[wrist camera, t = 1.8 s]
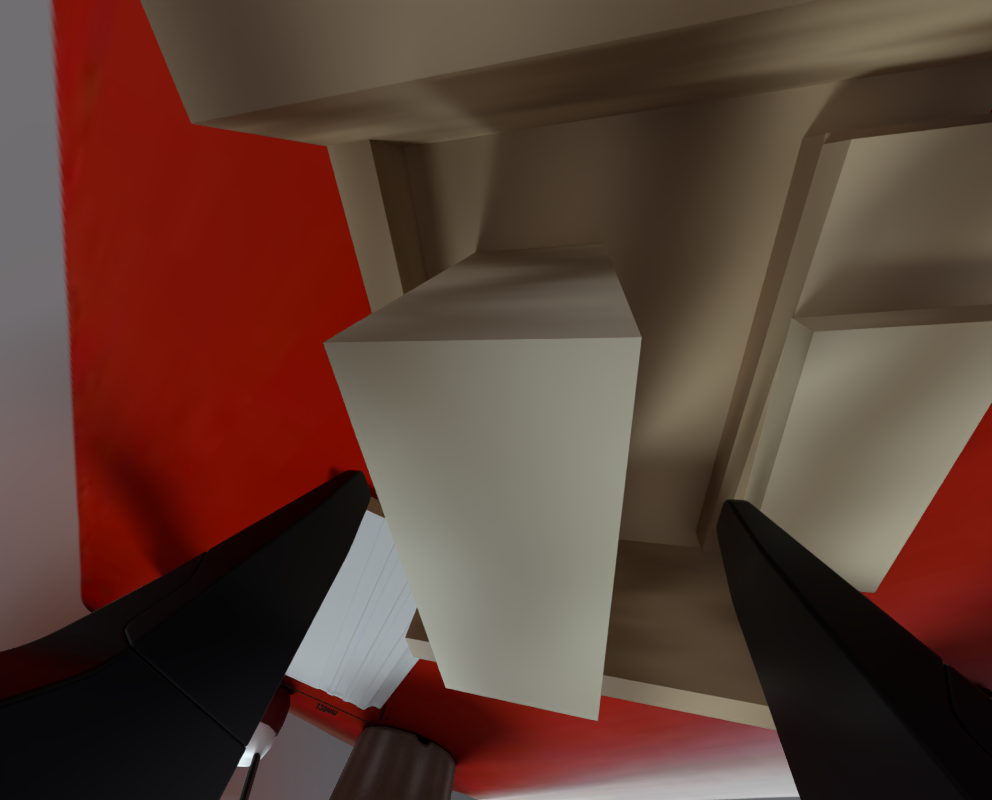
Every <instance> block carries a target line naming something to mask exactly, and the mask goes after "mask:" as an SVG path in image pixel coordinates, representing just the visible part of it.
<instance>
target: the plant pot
mask: <svg viewBox="0 0 992 800" xmlns="http://www.w3.org/2000/svg"><path fill="white" fill-rule="evenodd" d="M455 766H456V765H455V761H454V760H453V758H452V756H451V755H450V754H449V753H448V752H447V751H446V750H444V749H442V748H441V747H440V746H438V745H436V744H435V743H433V742H429V743H428V744H426V745H425V744H422V743H421V742H420V741H419V740H418V737H417V735H415V734H412V733H409V732H406V731H402V730H399V729H398V728H394V727H388V726H374V727H367V728H365V729H364V731H363V732H361V733H360V735H359V737H358V739H357V741H356V744H355V746H354V748H353V750H352V752H351V754H350V757H349V759H348V761H347V763H346V765H345V767H344V769H343V772H342V774H341V776H340V778H339V780H338V782H337V784H336V787H335V788H334V791H333V793H332V795H331V797H330V799H329V800H450V799H451V792H452V786H453V780H454V774H455Z"/></svg>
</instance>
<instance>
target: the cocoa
mask: <svg viewBox="0 0 992 800" xmlns="http://www.w3.org/2000/svg"><path fill="white" fill-rule="evenodd" d="M289 707H290V695H289V692H288V689H287V688H286V687H285V686H283V685H282V684H281V685H280V686H279V687H278V689H277V691H276V692H275V694H274V696H273V698H272V700H271V702H270V704H269V706H268V708H267V710H266V712H265V713H264V715H263V717H262V719H261V721H260V723H259V725H258V727H257V729H256V731H255V733H254V734H253V736H252V738H251V740H250V742H249V744H248V745H247V746H246V750H245V752H244V754H243V756H242V758H241V760H240V762H239V764H238V765H237V766H241V767H246V766H250V768H249V771H248V774H247V777H246V781H245V784H244V787H243V791H242V794H241V797H240V800H248V798H249V795H250V792H251V788H252V785H253V782H254V778H255V775H256V771H257V768H258V764H259V761H260V759H261V758H262V757H263V756H264V755H265V754H266V753H267V751H268V750H269V749H270V748H271V746H272V743H273V740H274V738H275V737H276V736H277V735H278V733H279V731H280V729H281V727H282V726H283V723H284V721H285V719H286V716H287V713H288V710H289Z"/></svg>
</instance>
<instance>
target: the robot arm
mask: <svg viewBox="0 0 992 800" xmlns="http://www.w3.org/2000/svg"><path fill="white" fill-rule="evenodd" d="M370 499H371V492H370V489H369V486H368V484H367V481H366V478H365V475H364V473H363V472H362V471H357V470H347V471H345V472H343V473H341V474H340V475H338V476H336V477H334V478H333V479H331V480H329V481H327V482H326V483H324V484H322V485H320V486H319V487H317V488H315V489H313V490H312V491H310V492H308V493H306V494H305V495H303V496H301V497H300V498H298V499H296V500H294V501H293V502H291V503H289V504H287V505H286V506H284V507H282V508H280V509H279V510H277V511H275V512H273V513H272V514H270V515H268V516H267V517H265V518H263V519H261V520H260V521H258V522H256V523H254V524H253V525H251V526H249V527H247V528H246V529H244V530H242V531H240V532H239V533H237V534H235V535H233V536H232V537H230V538H228V539H227V540H225V541H223V542H221V543H220V544H218V545H216V546H214V547H213V548H211V549H209V550H208V552H204V553H202V554H200V555H199V556H197V557H195V558H193V559H192V560H190V561H188V562H186V563H185V564H183V565H181V566H179V567H178V568H176V569H174V570H172V571H170V572H169V573H167V574H165V575H163V576H161V577H160V578H158V579H156V580H154V581H152V582H150V583H148V584H146V585H144V586H143V587H141V588H139V589H137V590H135V591H133V592H131V593H129V594H127V595H125V596H123V597H121V598H120V599H118V600H116V601H114V602H112V603H110V604H108V605H106V606H104V607H102V608H100V609H98V610H96V611H94V612H92V613H90V614H89V615H87V616H85V617H83V618H81V619H79V620H77V621H75V622H73V623H71V624H69V625H67V626H65V627H63V628H61V629H60V630H57V631H55V632H53V633H51V634H49V635H47V636H45V637H43V638H40V639H38V640H35V641H33V642H30V643H28V644H25V645H22V646H19V647H16V648H12V649H9V650H5V651H1V652H0V800H220V798H221V796H222V794H223V792H224V790H225V788H226V786H227V784H228V782H229V781H230V779H231V777H232V775H233V773H234V771H235V769H236V767H237V765H238V764H239V762H240V760H241V758H242V756H243V754H244V752H245V750H246V746H247V745H248V744H249V742H250V740H251V738H252V736H253V734H254V733H255V731H256V729H257V727H258V725H259V723H260V721H261V719H262V717H263V715H264V713H265V712H266V710H267V708H268V706H269V704H270V702H271V700H272V698H273V696H274V694H275V692H276V691H277V689H278V687H279V685H280V683H281V681H282V679H283V677H284V675H285V673H286V672H287V670H288V668H289V666H290V664H291V662H292V660H293V658H294V656H295V654H296V652H297V651H298V649H299V647H300V645H301V643H302V641H303V639H304V637H305V635H306V633H307V631H308V630H309V628H310V626H311V624H312V622H313V620H314V618H315V616H316V614H317V612H318V610H319V609H320V607H321V605H322V603H323V601H324V599H325V597H326V595H327V593H328V591H329V590H330V588H331V586H332V584H333V582H334V580H335V578H336V576H337V574H338V572H339V570H340V569H341V567H342V565H343V563H344V561H345V559H346V557H347V555H348V553H349V551H350V548H351V546H352V544H353V542H354V539H355V537H356V534H357V532H358V529H359V527H360V524H361V522H362V519H363V517H364V515H365V512H366V510H367V507H368V505H369V502H370ZM716 532H717V538H718V542H719V547H720V551H721V555H722V560H723V564H724V569H725V573H726V577H727V582H728V586H729V591H730V595H731V599H732V603H733V606H734V609H735V612H736V615H737V618H738V621H739V624H740V627H741V630H742V633H743V635H744V638H745V641H746V644H747V647H748V650H749V653H750V656H751V658H752V661H753V664H754V667H755V670H756V673H757V676H758V679H759V681H760V684H761V687H762V690H763V693H764V696H765V699H766V701H767V704H768V707H769V710H770V713H771V716H772V719H773V722H774V724H775V727H776V730H777V733H778V736H779V739H780V742H781V744H782V747H783V750H784V753H785V756H786V759H787V762H788V765H789V767H790V770H791V773H792V776H793V779H794V782H795V785H796V787H797V790H798V793H799V796H800V799H801V800H992V691H991V690H990V689H987V688H982V687H976V686H975V685H974V684H973V683H971V682H970V681H969V680H968V679H967V678H965V677H964V676H963V675H962V674H960V673H959V672H958V671H957V670H955V669H954V668H953V667H952V666H950V665H949V664H944V662H943V660H942V658H940V657H939V656H938V655H937V654H936V653H934V652H933V651H932V650H931V649H929V648H928V647H927V646H926V645H924V644H923V643H922V642H921V641H920V640H918V639H917V638H916V637H915V636H913V635H912V634H911V633H910V632H909V631H907V630H906V629H905V628H904V627H902V626H901V625H900V624H899V623H897V622H896V621H895V620H894V619H893V618H891V617H890V616H889V615H888V614H886V613H885V612H884V611H883V610H881V609H880V608H879V607H878V606H877V605H875V604H874V603H873V602H872V601H870V600H869V599H868V598H867V597H866V596H864V595H863V594H862V593H861V592H859V591H858V590H857V589H856V588H854V587H853V586H852V585H851V584H850V583H848V582H847V581H846V580H845V579H843V578H842V577H841V576H840V575H838V574H837V573H836V572H835V571H834V570H832V569H831V568H830V567H829V566H827V565H826V564H825V563H824V562H823V561H821V560H820V559H819V558H818V557H816V556H815V555H814V554H813V553H811V552H810V551H809V550H808V549H807V548H805V547H804V546H803V545H802V544H800V543H799V542H798V541H797V540H795V539H794V538H793V537H792V536H791V535H789V534H788V533H787V532H786V531H784V530H783V529H782V528H781V527H780V526H778V525H777V524H776V523H775V522H773V521H772V520H771V519H770V518H768V517H767V516H766V515H765V514H764V513H762V512H761V511H760V510H759V509H757V508H756V507H755V506H754V505H752V504H751V503H750V502H748V501H746V500H738V499H726V500H725V501H724V502H723V505H722V508H721V511H720V515H719V518H718V521H717V525H716Z"/></svg>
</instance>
